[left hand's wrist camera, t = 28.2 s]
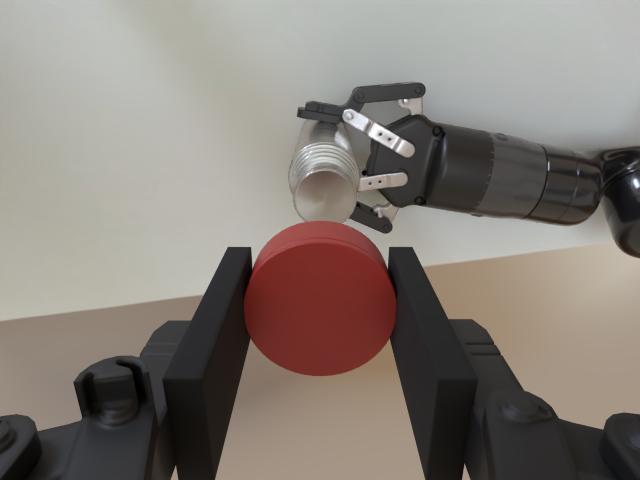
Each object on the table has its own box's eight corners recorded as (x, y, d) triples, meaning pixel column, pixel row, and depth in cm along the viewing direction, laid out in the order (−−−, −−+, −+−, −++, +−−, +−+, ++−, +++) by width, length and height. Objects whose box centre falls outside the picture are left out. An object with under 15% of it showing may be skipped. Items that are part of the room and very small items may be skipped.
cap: (245, 222, 14) (235, 244, 12) (390, 217, 14) (399, 239, 12) (258, 343, 16) (250, 378, 14) (386, 340, 16) (395, 374, 14)
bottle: (350, 153, 47) (374, 229, 25) (306, 162, 47) (293, 246, 26) (341, 108, 45) (359, 148, 23) (296, 118, 45) (272, 167, 24)
